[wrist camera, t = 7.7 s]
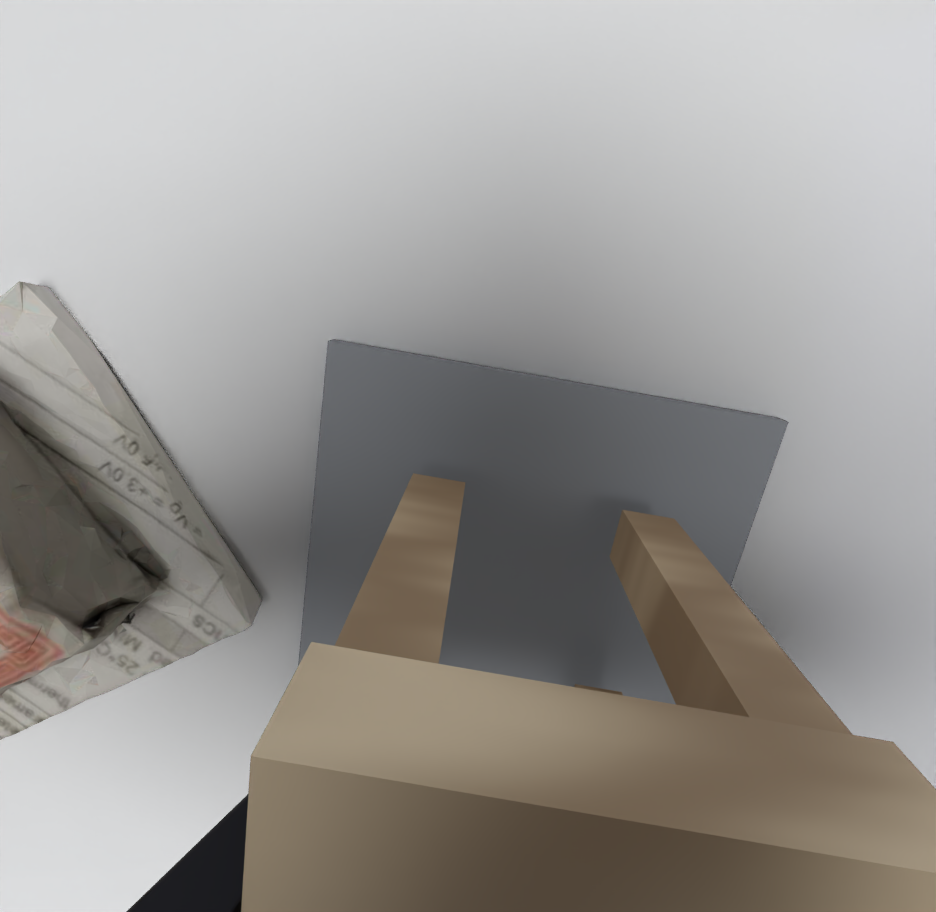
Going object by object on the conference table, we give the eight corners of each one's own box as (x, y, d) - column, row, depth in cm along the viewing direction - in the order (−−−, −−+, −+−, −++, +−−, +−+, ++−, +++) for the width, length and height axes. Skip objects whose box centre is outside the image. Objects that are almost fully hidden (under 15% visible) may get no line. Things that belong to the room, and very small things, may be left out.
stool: (685, 512, 12) (1023, 886, 4) (615, 737, 14) (768, 1281, 6) (405, 463, 12) (250, 756, 4) (372, 695, 14) (223, 1189, 6)
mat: (777, 417, 13) (788, 422, 13) (656, 766, 16) (661, 780, 16) (334, 339, 13) (328, 341, 13) (299, 705, 16) (293, 717, 16)
